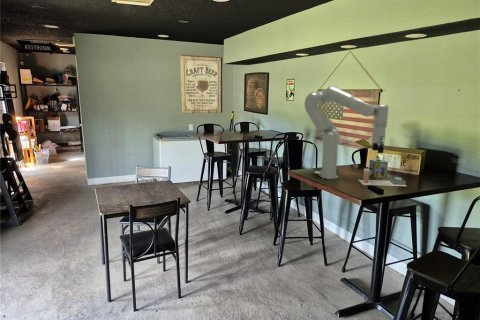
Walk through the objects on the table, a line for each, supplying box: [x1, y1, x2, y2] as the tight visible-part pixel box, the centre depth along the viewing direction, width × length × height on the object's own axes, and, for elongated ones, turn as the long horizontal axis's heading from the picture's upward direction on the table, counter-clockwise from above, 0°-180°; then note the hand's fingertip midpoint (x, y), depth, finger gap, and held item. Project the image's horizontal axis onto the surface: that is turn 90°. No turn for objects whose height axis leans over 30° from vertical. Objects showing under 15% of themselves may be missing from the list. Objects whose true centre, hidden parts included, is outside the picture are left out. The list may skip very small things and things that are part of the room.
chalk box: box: [369, 155, 389, 179], centre depth 224 cm, size 9×9×15 cm
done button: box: [393, 176, 403, 182], centre depth 206 cm, size 4×4×2 cm
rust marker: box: [362, 167, 370, 183], centre depth 208 cm, size 3×3×9 cm
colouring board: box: [358, 178, 407, 187], centre depth 207 cm, size 26×12×3 cm, turn 84°
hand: (377, 151), depth 208 cm, fingers open, 9 cm apart
